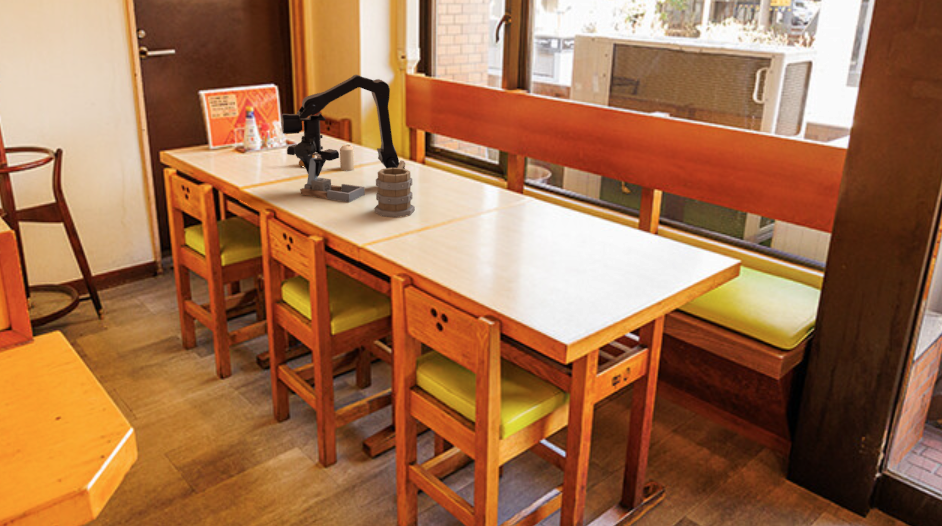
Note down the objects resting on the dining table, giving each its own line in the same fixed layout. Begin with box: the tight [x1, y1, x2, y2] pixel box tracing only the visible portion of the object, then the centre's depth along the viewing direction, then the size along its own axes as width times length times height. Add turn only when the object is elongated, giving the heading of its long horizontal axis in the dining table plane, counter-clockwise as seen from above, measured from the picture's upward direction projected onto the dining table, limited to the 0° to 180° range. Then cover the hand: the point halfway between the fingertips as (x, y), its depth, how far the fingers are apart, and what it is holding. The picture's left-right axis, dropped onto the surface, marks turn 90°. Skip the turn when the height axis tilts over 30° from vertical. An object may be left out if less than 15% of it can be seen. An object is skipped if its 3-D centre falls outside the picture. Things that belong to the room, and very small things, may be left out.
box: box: [326, 183, 366, 203], centre depth 269 cm, size 9×10×3 cm
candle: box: [339, 144, 355, 172], centre depth 305 cm, size 6×6×10 cm
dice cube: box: [311, 177, 332, 192], centre depth 272 cm, size 5×5×5 cm
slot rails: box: [300, 184, 342, 199], centre depth 273 cm, size 11×10×2 cm
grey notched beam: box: [303, 157, 319, 189], centre depth 272 cm, size 2×6×12 cm, turn 158°
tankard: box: [373, 160, 416, 218], centre depth 255 cm, size 20×13×15 cm, turn 168°
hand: (313, 175), depth 272 cm, fingers closed on grey notched beam, 3 cm apart
